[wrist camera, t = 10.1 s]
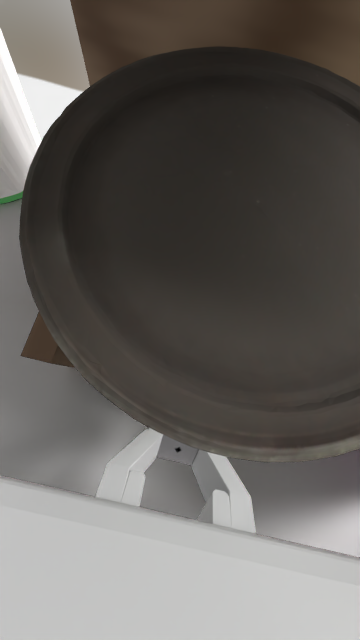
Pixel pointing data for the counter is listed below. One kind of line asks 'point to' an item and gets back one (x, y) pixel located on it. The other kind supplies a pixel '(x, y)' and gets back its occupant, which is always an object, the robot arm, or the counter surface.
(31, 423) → the counter surface
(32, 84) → the counter surface
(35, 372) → the counter surface
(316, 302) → the coffee can
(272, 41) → the wooden caddy stand
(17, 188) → the cup
